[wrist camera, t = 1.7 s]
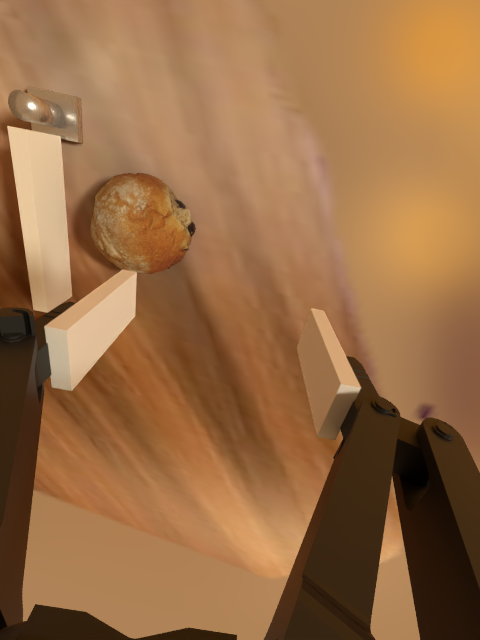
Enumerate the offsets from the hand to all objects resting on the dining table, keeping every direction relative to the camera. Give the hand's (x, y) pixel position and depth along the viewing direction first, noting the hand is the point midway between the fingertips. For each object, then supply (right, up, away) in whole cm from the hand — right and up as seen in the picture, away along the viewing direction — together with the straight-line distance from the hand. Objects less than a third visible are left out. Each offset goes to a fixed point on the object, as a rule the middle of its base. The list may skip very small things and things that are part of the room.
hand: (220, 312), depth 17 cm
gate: (-18, +10, +15) cm, 25 cm away
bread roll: (-9, +10, +16) cm, 21 cm away
